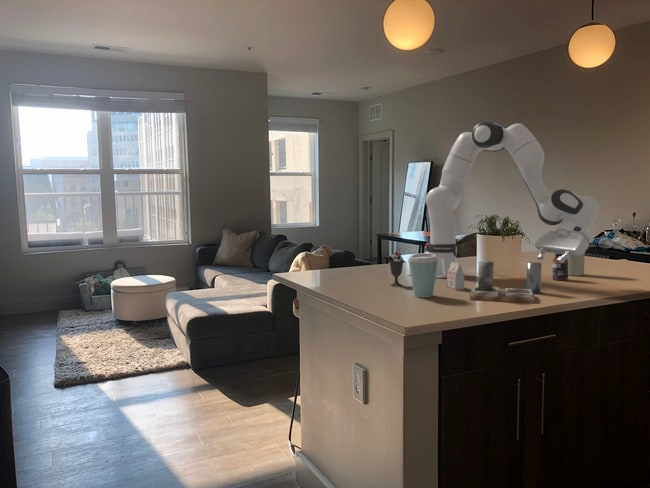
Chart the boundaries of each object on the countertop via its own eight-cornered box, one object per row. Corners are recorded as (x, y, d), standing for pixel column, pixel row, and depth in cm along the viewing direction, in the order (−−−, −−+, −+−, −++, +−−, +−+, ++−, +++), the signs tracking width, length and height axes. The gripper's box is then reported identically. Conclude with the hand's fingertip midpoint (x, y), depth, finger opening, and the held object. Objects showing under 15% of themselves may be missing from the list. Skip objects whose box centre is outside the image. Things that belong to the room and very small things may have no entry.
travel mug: (575, 276, 224) (577, 235, 222) (559, 274, 231) (561, 233, 229) (587, 275, 228) (589, 234, 226) (571, 272, 235) (573, 232, 233)
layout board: (469, 299, 181) (470, 263, 180) (471, 293, 193) (472, 259, 191) (534, 303, 175) (536, 266, 173) (532, 296, 186) (533, 261, 185)
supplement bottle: (564, 278, 220) (565, 252, 219) (570, 281, 214) (571, 253, 213) (550, 278, 221) (551, 251, 220) (554, 281, 215) (555, 253, 214)
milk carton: (455, 286, 206) (455, 261, 205) (463, 289, 199) (464, 263, 198) (446, 287, 205) (447, 261, 204) (455, 290, 198) (455, 264, 197)
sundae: (406, 284, 212) (406, 247, 210) (402, 287, 205) (403, 249, 204) (389, 283, 214) (390, 247, 212) (386, 286, 207) (386, 248, 206)
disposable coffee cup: (431, 300, 181) (432, 257, 179) (402, 297, 187) (402, 255, 185) (442, 294, 190) (442, 253, 188) (414, 292, 196) (414, 252, 194)
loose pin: (526, 293, 191) (527, 263, 190) (525, 290, 195) (526, 261, 194) (541, 294, 189) (542, 264, 188) (540, 291, 194) (541, 262, 193)
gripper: (543, 225, 205) (523, 251, 202) (588, 229, 187) (567, 257, 184) (551, 236, 207) (532, 262, 205) (596, 240, 189) (576, 269, 186)
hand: (549, 260), depth 194 cm, fingers open, 8 cm apart
